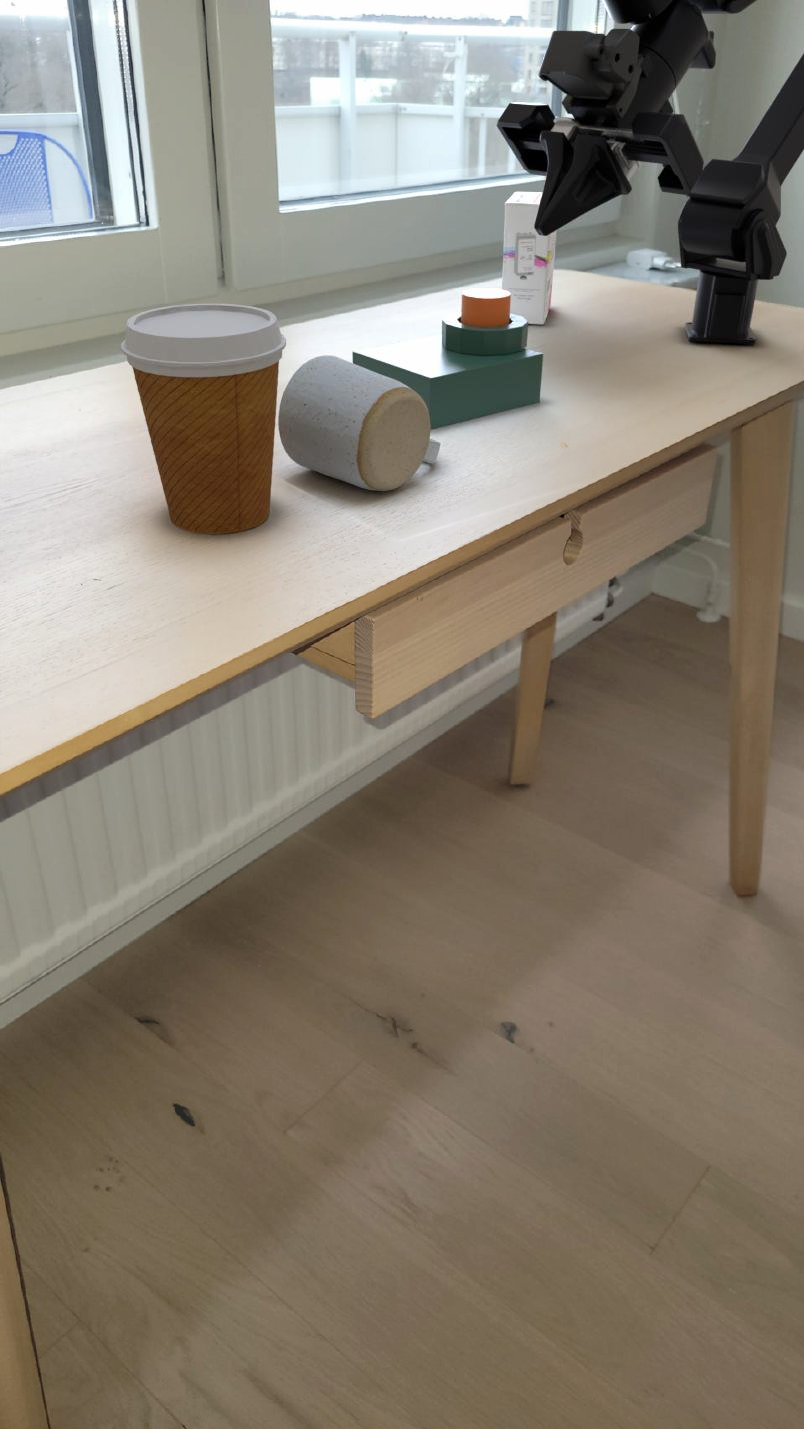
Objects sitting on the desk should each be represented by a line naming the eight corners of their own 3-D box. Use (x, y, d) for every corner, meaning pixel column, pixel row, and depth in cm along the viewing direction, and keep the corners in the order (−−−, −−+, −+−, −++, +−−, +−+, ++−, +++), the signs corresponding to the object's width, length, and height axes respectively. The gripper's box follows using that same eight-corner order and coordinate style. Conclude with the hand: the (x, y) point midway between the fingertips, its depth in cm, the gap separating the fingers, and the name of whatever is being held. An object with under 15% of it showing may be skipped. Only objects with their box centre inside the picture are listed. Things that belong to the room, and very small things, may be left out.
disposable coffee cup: (152, 490, 72) (129, 302, 65) (295, 486, 72) (285, 300, 66) (135, 548, 64) (106, 341, 57) (295, 543, 64) (284, 338, 58)
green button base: (472, 373, 96) (475, 304, 93) (552, 399, 90) (558, 325, 87) (353, 400, 89) (351, 325, 86) (429, 430, 83) (431, 351, 79)
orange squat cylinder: (486, 317, 91) (487, 286, 89) (519, 326, 88) (521, 294, 87) (450, 324, 89) (451, 292, 87) (483, 333, 86) (484, 300, 85)
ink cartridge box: (507, 306, 120) (515, 159, 112) (551, 308, 119) (563, 160, 111) (497, 323, 113) (505, 168, 105) (544, 326, 112) (556, 169, 104)
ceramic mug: (363, 509, 69) (363, 389, 65) (277, 478, 73) (272, 364, 69) (467, 470, 76) (473, 359, 72) (382, 444, 80) (383, 338, 76)
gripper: (519, -11, 87) (414, 149, 88) (704, -16, 75) (581, 170, 75) (577, 96, 96) (481, 242, 96) (751, 107, 84) (641, 274, 84)
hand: (539, 232), depth 88 cm, fingers closed
